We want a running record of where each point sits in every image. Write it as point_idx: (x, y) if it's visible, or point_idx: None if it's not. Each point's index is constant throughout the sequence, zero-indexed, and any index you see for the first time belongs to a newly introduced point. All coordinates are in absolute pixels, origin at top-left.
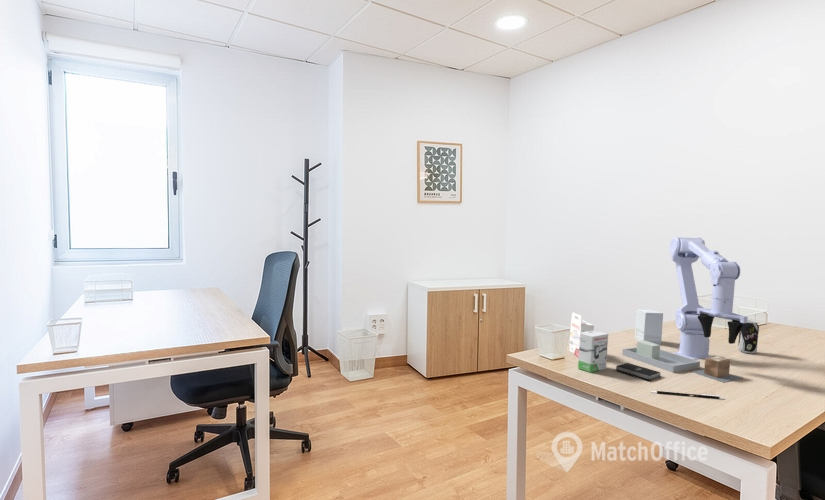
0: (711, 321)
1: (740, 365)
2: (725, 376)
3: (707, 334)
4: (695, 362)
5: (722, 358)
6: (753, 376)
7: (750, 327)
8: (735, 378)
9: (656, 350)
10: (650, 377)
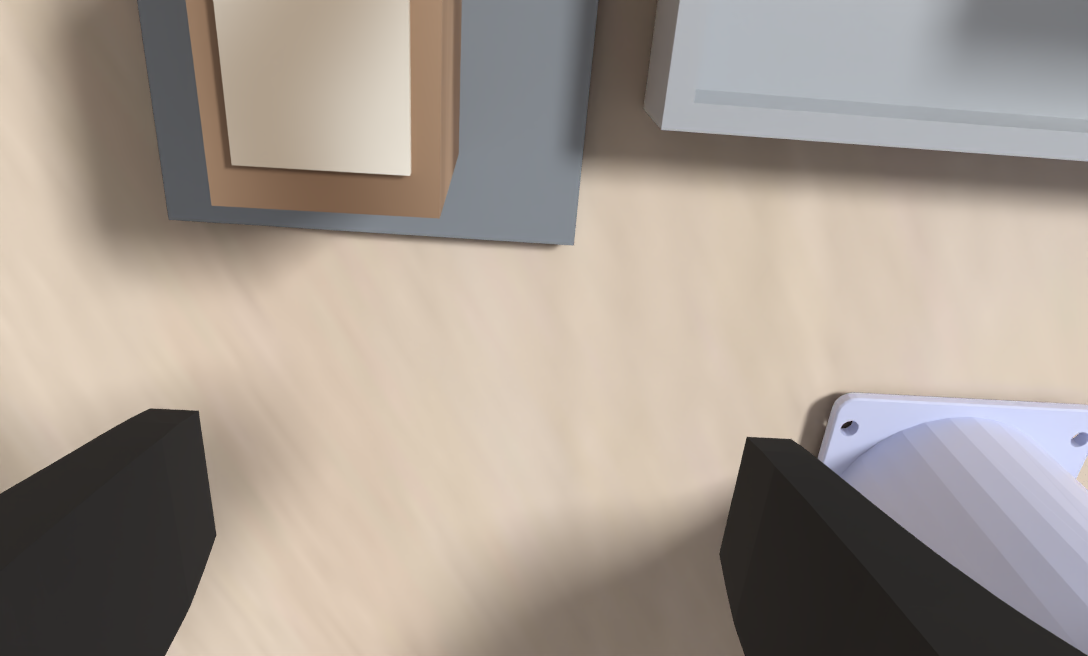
0: None
1: (504, 642)
2: None
3: (760, 517)
4: (678, 11)
5: (287, 130)
6: (234, 436)
7: None
8: (183, 104)
9: None
10: None
